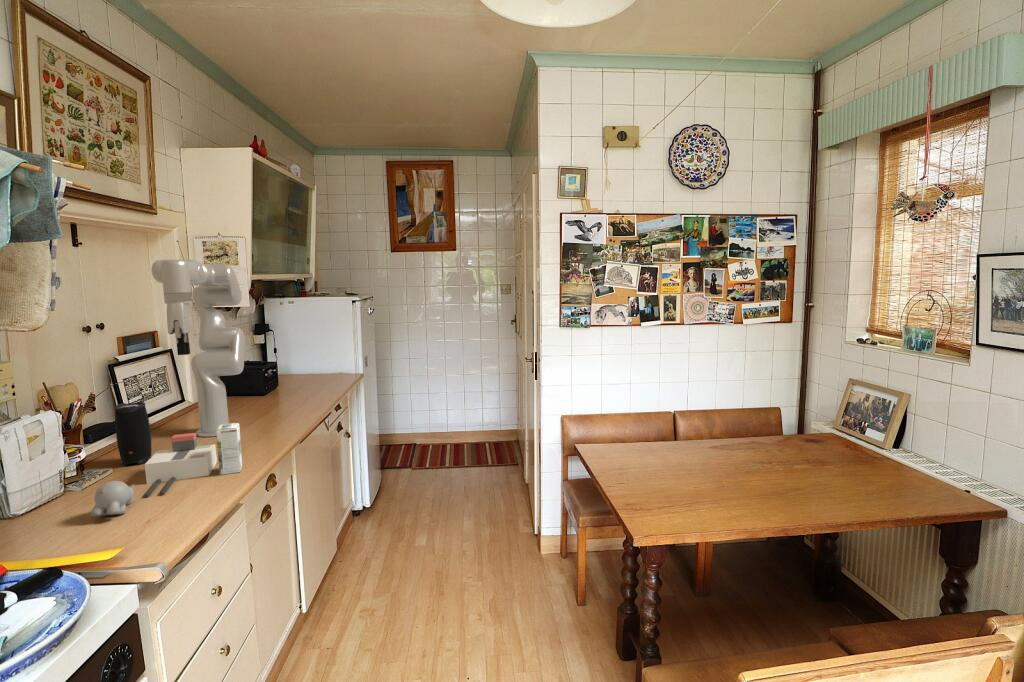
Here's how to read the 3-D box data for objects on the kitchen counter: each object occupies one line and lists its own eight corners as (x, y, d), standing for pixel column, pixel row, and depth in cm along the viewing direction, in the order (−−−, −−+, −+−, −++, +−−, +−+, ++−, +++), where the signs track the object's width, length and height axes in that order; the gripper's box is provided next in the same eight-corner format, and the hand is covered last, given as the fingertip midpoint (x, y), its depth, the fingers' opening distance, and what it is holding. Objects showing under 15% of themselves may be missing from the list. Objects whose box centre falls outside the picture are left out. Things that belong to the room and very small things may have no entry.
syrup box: (222, 469, 158) (217, 424, 156) (243, 465, 160) (239, 422, 158) (219, 475, 152) (215, 429, 150) (241, 472, 155) (237, 427, 153)
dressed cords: (157, 482, 148) (156, 478, 148) (176, 480, 149) (175, 476, 149) (144, 498, 138) (143, 494, 137) (164, 495, 139) (164, 491, 139)
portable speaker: (140, 467, 160) (133, 407, 157) (112, 466, 160) (104, 408, 158) (160, 457, 169) (153, 400, 166) (133, 457, 169) (126, 400, 166)
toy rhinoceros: (144, 512, 135) (149, 479, 137) (115, 516, 124) (120, 480, 126) (116, 513, 134) (121, 480, 137) (83, 517, 123) (89, 481, 125)
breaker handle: (175, 448, 159) (174, 434, 158) (197, 445, 161) (195, 432, 160) (172, 451, 156) (171, 437, 155) (194, 448, 158) (193, 435, 157)
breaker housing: (159, 469, 158) (157, 450, 157) (217, 461, 164) (215, 444, 163) (146, 483, 147) (144, 464, 146) (208, 475, 152) (207, 456, 152)
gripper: (171, 297, 167) (177, 351, 169) (157, 300, 153) (163, 358, 155) (197, 297, 169) (202, 350, 172) (185, 299, 155) (191, 357, 158)
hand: (184, 354), depth 164 cm, fingers closed
